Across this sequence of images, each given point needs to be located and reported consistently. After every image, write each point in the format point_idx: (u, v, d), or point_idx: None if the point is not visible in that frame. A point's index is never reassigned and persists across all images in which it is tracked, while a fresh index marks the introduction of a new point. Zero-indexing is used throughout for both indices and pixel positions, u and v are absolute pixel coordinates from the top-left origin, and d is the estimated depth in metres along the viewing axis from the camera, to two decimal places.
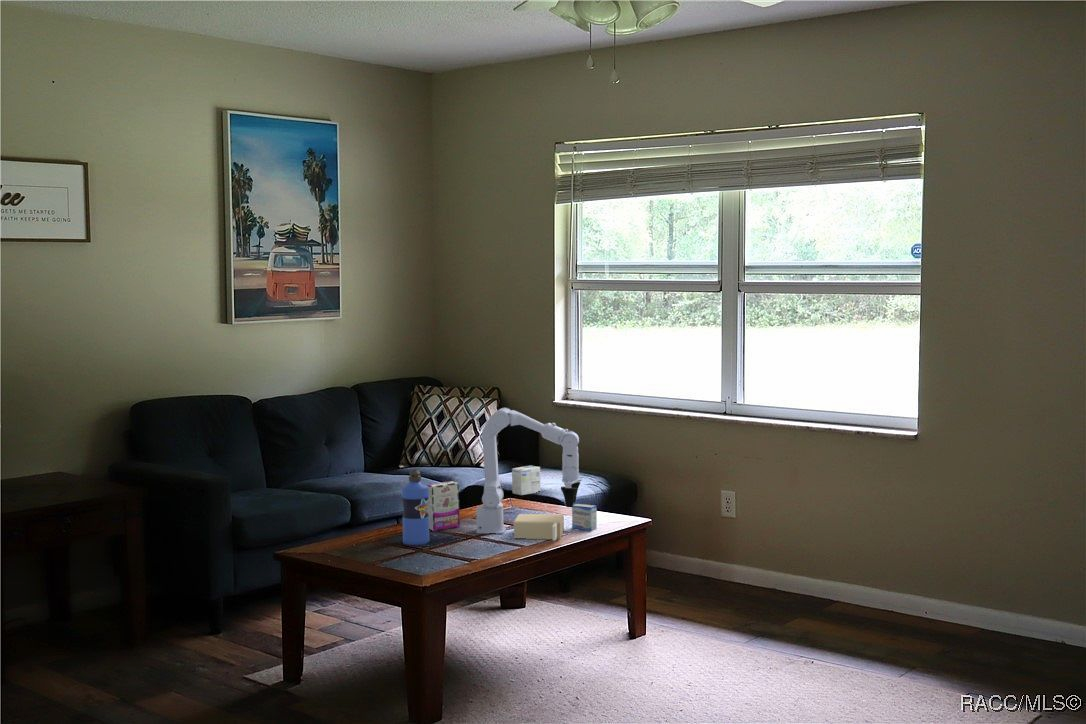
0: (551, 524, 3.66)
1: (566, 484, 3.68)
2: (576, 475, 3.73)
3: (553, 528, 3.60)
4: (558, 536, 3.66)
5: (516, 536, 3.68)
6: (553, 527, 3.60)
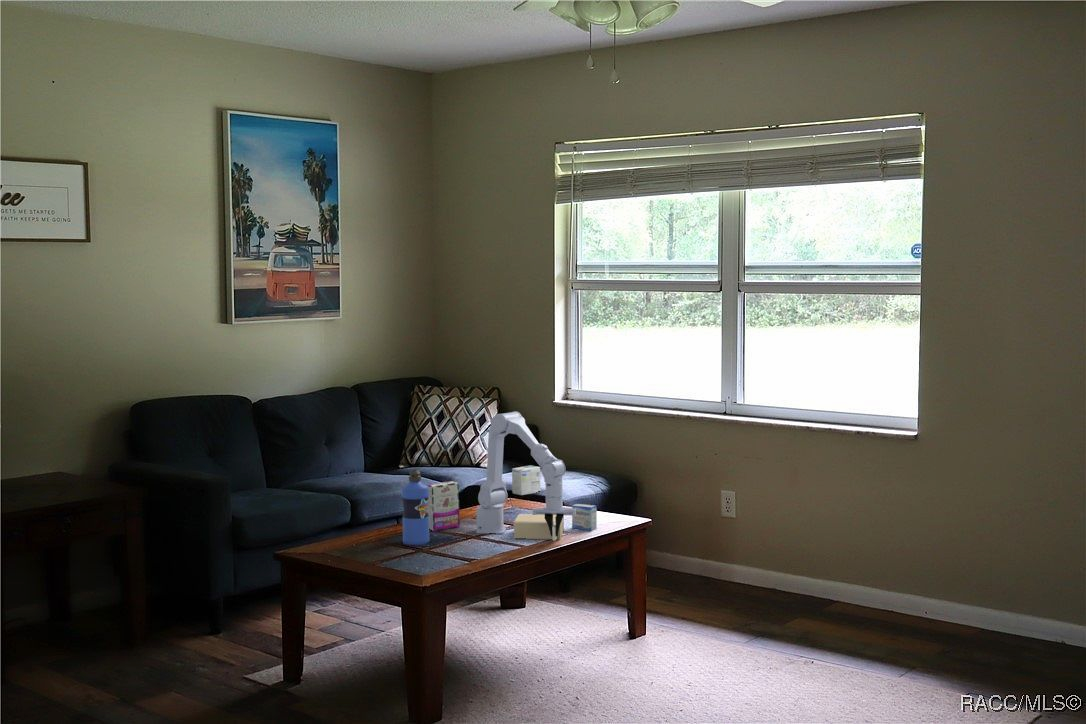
0: None
1: None
2: (548, 505, 3.59)
3: (553, 528, 3.60)
4: (558, 536, 3.66)
5: (516, 536, 3.68)
6: (553, 527, 3.60)
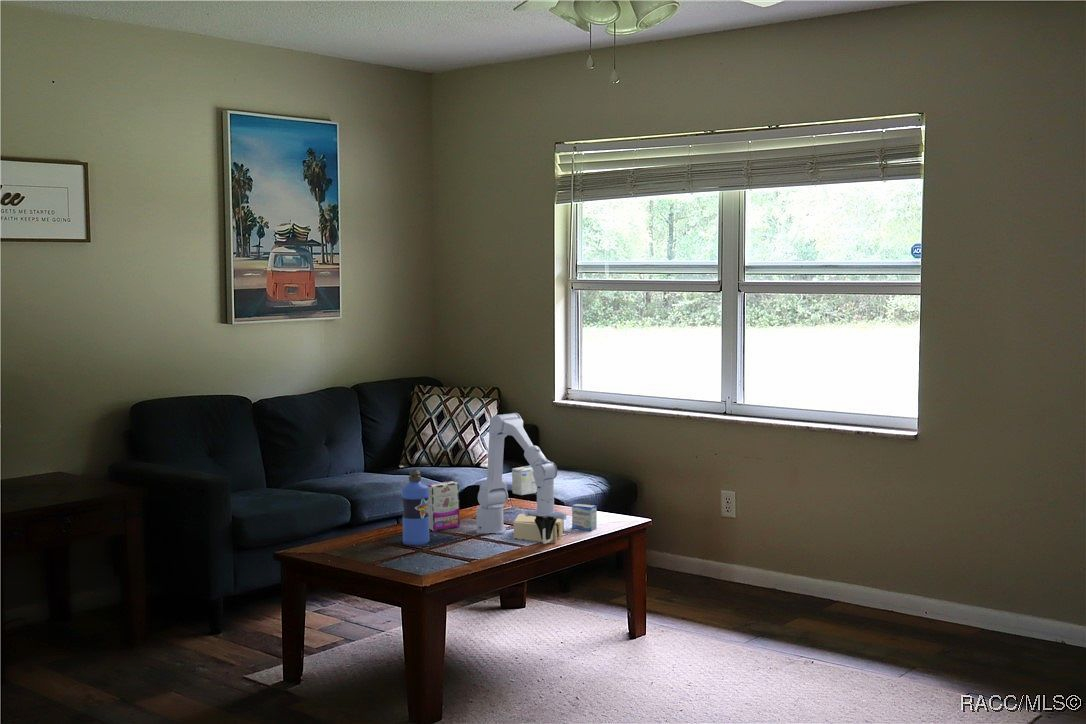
0: None
1: None
2: (538, 508, 3.55)
3: (543, 531, 3.56)
4: (554, 539, 3.61)
5: (515, 536, 3.67)
6: (543, 530, 3.56)
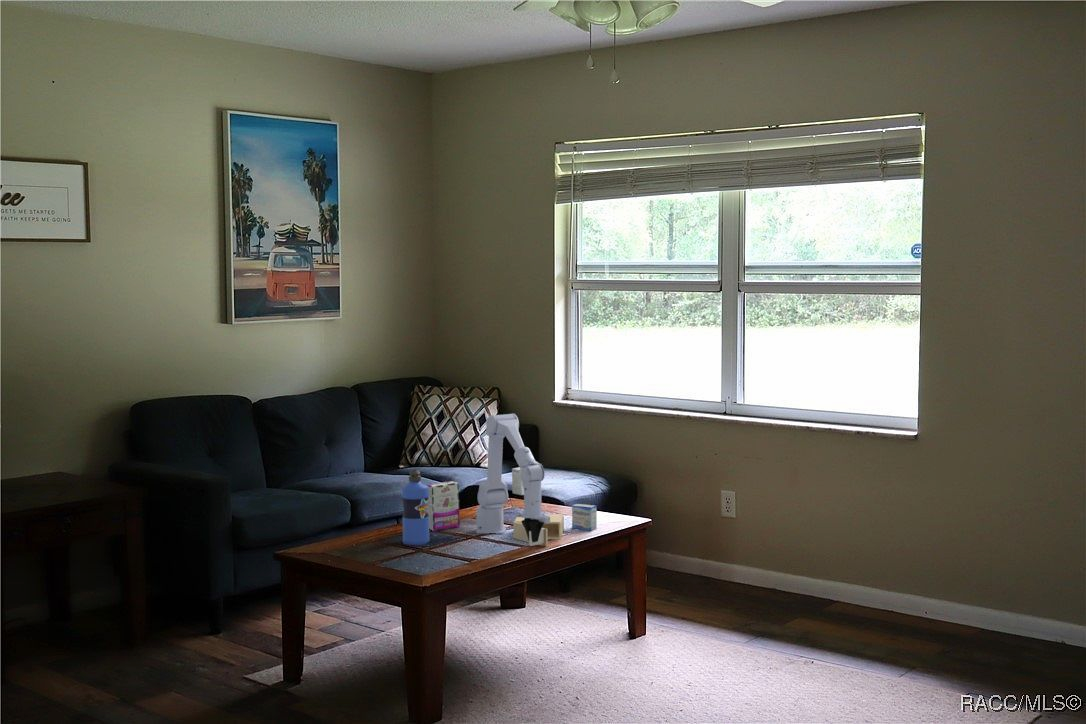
0: None
1: None
2: (524, 509, 3.53)
3: (529, 533, 3.53)
4: (544, 542, 3.57)
5: (515, 536, 3.67)
6: (529, 532, 3.53)
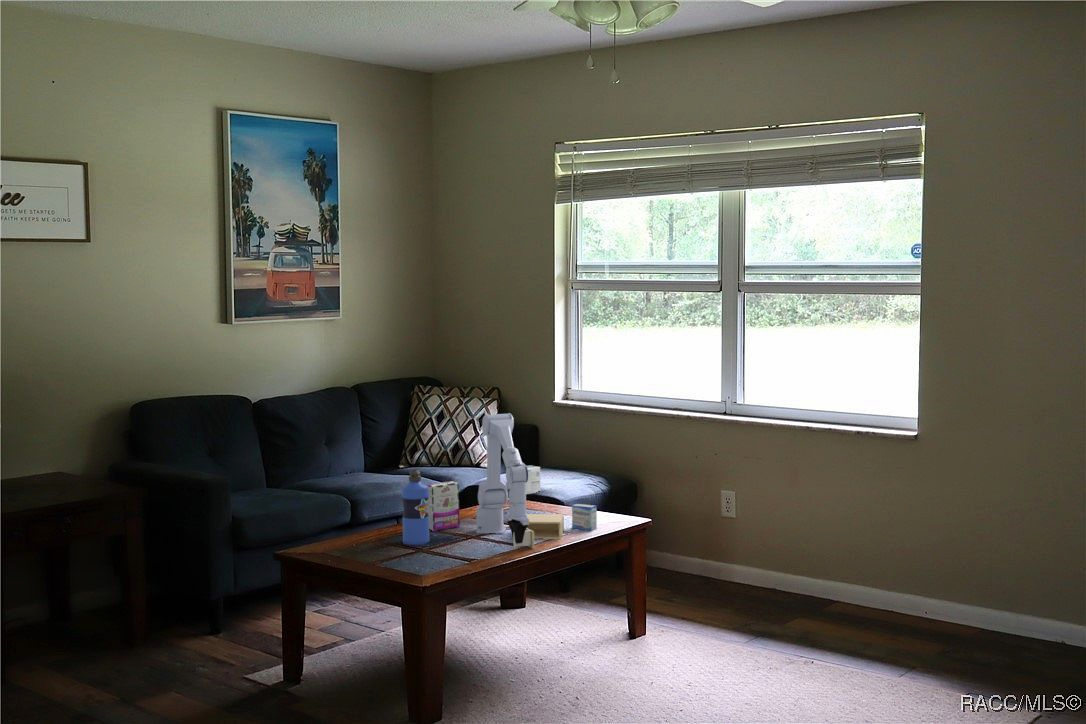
0: None
1: None
2: None
3: (513, 534, 3.52)
4: (531, 545, 3.54)
5: None
6: (513, 533, 3.52)
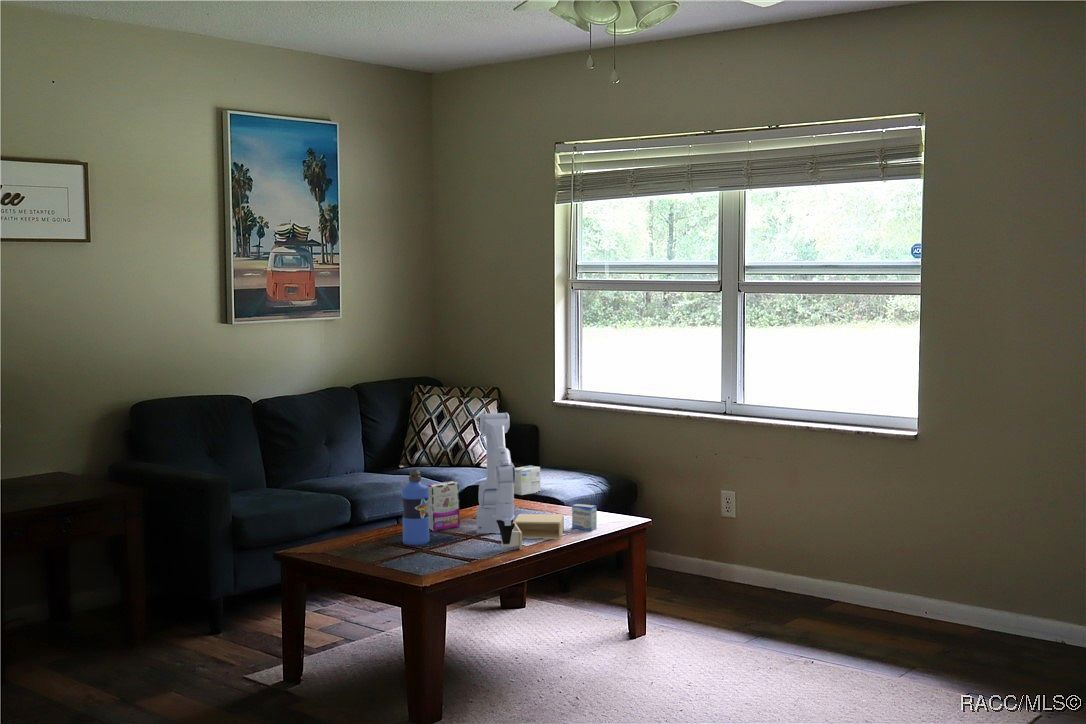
0: None
1: None
2: None
3: None
4: (519, 546, 3.53)
5: None
6: None
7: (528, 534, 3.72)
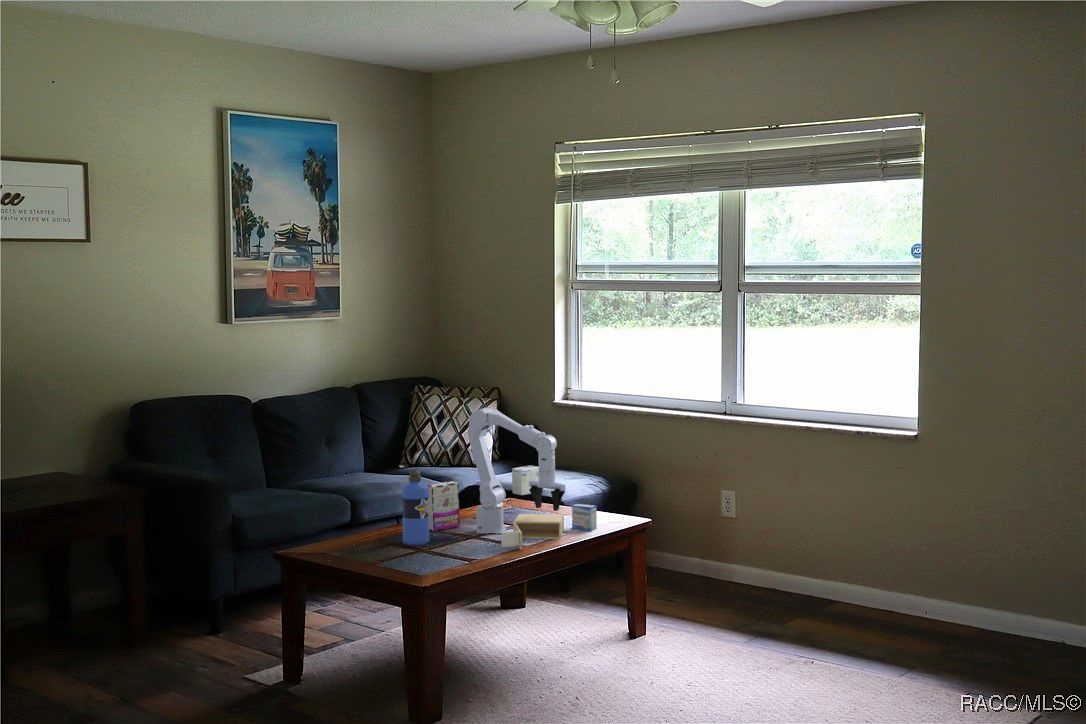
0: None
1: None
2: (539, 479, 3.70)
3: (501, 534, 3.52)
4: (519, 546, 3.53)
5: None
6: (501, 533, 3.52)
7: (528, 534, 3.72)
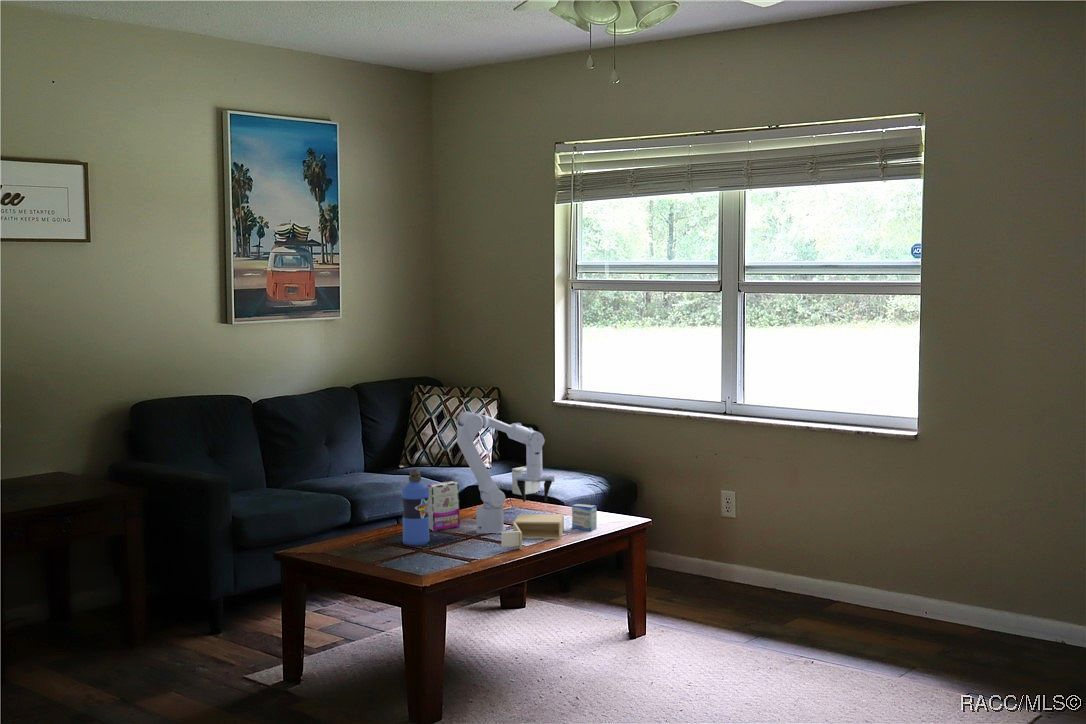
0: None
1: None
2: (529, 472, 3.82)
3: (501, 534, 3.52)
4: (519, 546, 3.53)
5: None
6: (501, 533, 3.52)
7: (528, 534, 3.72)
